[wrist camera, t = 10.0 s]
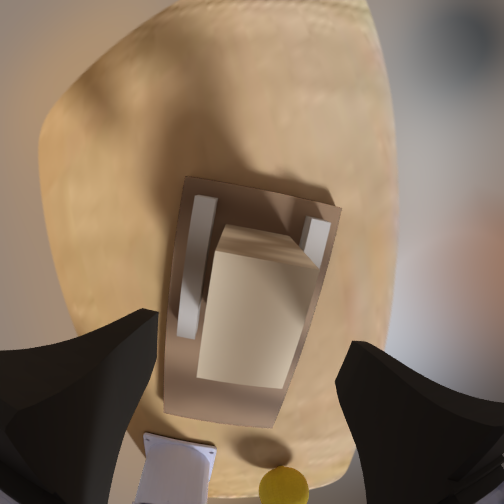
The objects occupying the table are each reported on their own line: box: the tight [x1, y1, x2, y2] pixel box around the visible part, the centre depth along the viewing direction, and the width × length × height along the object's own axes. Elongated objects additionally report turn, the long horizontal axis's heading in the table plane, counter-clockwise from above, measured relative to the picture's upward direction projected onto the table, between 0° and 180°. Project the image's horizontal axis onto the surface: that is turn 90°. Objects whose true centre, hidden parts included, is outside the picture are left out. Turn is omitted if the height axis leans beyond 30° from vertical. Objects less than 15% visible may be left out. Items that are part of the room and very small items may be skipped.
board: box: [164, 176, 342, 428], centre depth 18 cm, size 20×10×3 cm, turn 169°
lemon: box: [259, 466, 309, 504], centre depth 21 cm, size 6×6×8 cm
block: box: [197, 224, 320, 389], centre depth 14 cm, size 4×6×7 cm, turn 169°
